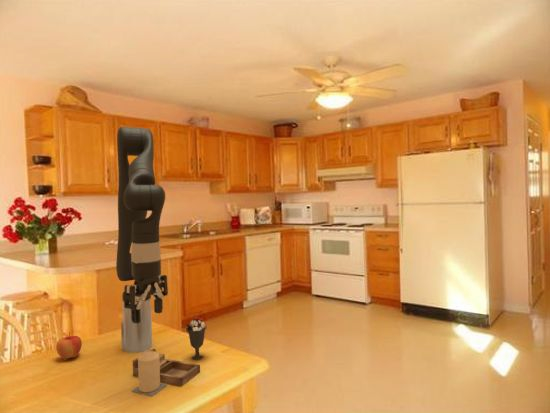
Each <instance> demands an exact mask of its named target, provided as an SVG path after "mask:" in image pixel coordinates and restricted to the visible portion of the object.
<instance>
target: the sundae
mask: <svg viewBox="0 0 550 413" xmlns="http://www.w3.org/2000/svg"><path fill="white" fill-rule="evenodd" d="M202 313H203V311H202V310H200V311H199V313H198V315H197V316H195V317H194V318H193V319H192V320H191V321H190V323H187V324H186V326H187V327H186V328H185V330H186V333H188V337H189V342H190V347H192V348H193V349H195V353H194V355H193V356H192V357H191V358H190V360H192V361H201V360H203V359H204V355H201V354H200V348H201V347H202V346H203V345H204V342H205V333H206V329H207V328H208V326H206V324H205V322H204V321H203V318H202V316H201V315H202ZM199 316H200V318H199Z"/></svg>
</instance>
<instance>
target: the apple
mask: <svg viewBox="0 0 550 413" xmlns="http://www.w3.org/2000/svg"><path fill="white" fill-rule="evenodd" d="M68 333H69V335H68V336H65V337H61V338H60V339H59V340H57V342H56V346H55V348H56V352H57V354H58V356H59V357H60V358H61V359H63V360H65V361H66V360H68V359H71V358H72V359H73V358H74V359H75V358H76V357H77V356H78V354H79V353H80V352H81V349H82V346H83V344H82V343H83V342H82V339H81V337H79V336H78V335H71V332H68Z"/></svg>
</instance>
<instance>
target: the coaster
mask: <svg viewBox="0 0 550 413" xmlns="http://www.w3.org/2000/svg"><path fill="white" fill-rule="evenodd" d="M167 386H168V384H167V383H162V382H160V387H159V388H158V389H157V390H155V391H153V392H147V393H145V392H141V391H140V390H139V385H138V386H137V387H135V388H134V389H132V390H131V391H130V392H131V393H136V394H138V395H139V394H140V395H144V396H148V397H154V396H156V395H157V394H158V393H159V392H161V391H163V389H165V388H166V387H167Z"/></svg>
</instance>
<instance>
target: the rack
mask: <svg viewBox="0 0 550 413" xmlns="http://www.w3.org/2000/svg"><path fill="white" fill-rule="evenodd" d="M156 349H157V348H152V349H150V350H151V351H155V352H157V350H156ZM165 360H167V364H166V365H164V366H163V367H161V368H160V383H161V384H166V385H172V386H177V387H183V386H184V385H186V384H187V383H188V382H189V381H190V380H192V379H193V378H195V377H196V376H197V375H198V374H199V373H200V372H201V365H200V364H197V363H192V362H186V361H180V360H175V359H169V358H165ZM132 377H136V378H139V375H138V357H136V358H134V359H133V360H132Z"/></svg>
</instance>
